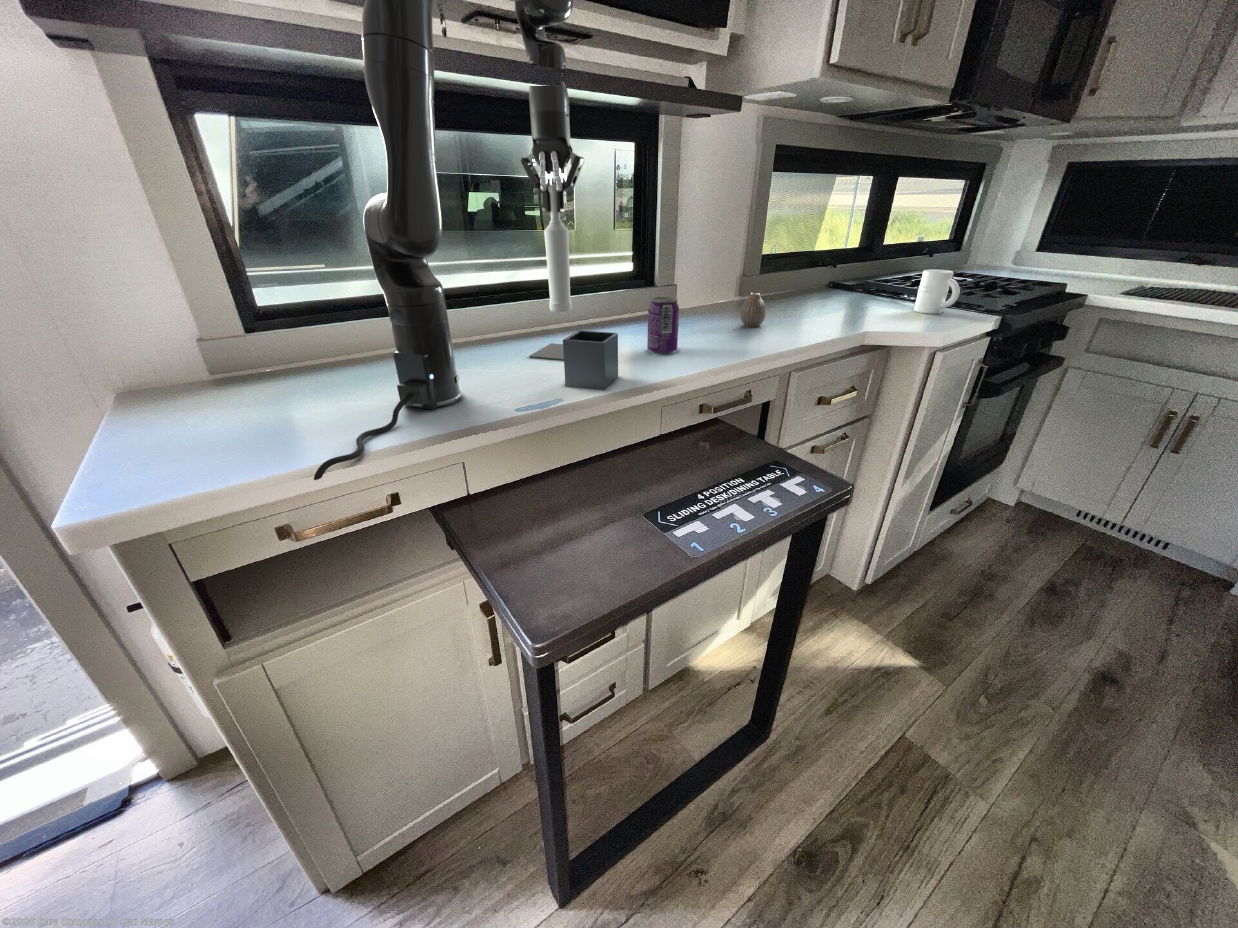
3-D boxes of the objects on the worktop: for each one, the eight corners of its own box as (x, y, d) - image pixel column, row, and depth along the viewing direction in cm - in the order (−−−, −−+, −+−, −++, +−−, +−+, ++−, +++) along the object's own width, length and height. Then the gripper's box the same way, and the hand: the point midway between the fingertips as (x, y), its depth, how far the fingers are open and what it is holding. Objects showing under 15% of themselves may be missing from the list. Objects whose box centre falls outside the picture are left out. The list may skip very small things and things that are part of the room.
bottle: (551, 312, 112) (542, 184, 101) (547, 308, 117) (539, 185, 105) (574, 311, 113) (568, 184, 102) (570, 307, 118) (564, 185, 106)
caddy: (605, 390, 96) (604, 343, 92) (565, 386, 98) (562, 339, 94) (618, 377, 103) (617, 332, 99) (580, 373, 105) (579, 330, 101)
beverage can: (682, 350, 121) (685, 298, 116) (668, 357, 116) (670, 303, 110) (656, 346, 125) (658, 295, 119) (641, 352, 120) (642, 300, 114)
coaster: (577, 361, 113) (577, 360, 113) (529, 357, 116) (529, 356, 116) (596, 348, 123) (596, 346, 123) (551, 345, 126) (551, 343, 126)
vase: (735, 326, 143) (738, 294, 139) (745, 322, 148) (748, 290, 144) (758, 329, 140) (762, 296, 136) (767, 324, 145) (771, 293, 141)
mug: (944, 317, 153) (956, 275, 147) (907, 310, 162) (917, 270, 156) (960, 314, 156) (972, 273, 151) (923, 307, 165) (933, 268, 160)
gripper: (508, 111, 96) (517, 212, 104) (575, 107, 93) (579, 212, 101) (526, 116, 103) (533, 211, 111) (589, 112, 99) (592, 211, 107)
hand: (555, 211), depth 106 cm, fingers closed on bottle, 2 cm apart
